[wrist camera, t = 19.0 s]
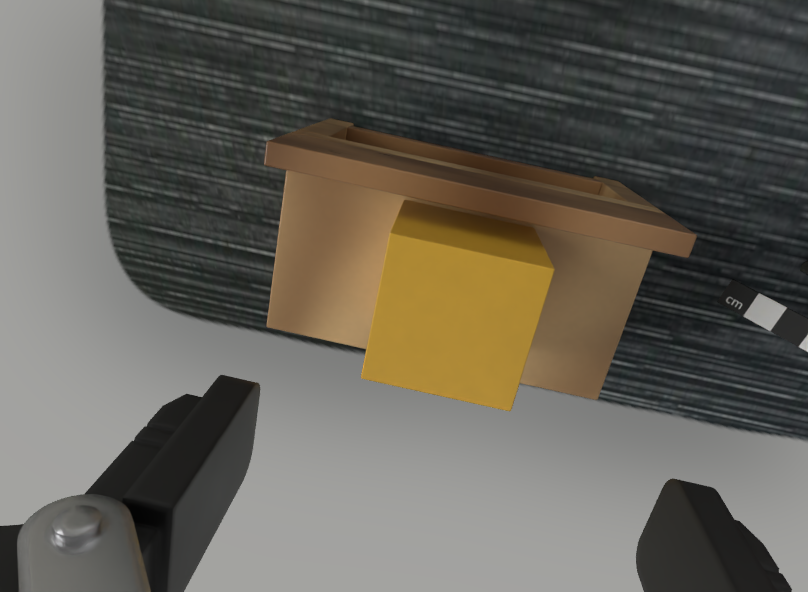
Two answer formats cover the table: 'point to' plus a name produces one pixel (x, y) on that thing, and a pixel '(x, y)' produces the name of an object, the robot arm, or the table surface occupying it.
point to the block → (457, 305)
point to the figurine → (767, 312)
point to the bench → (470, 193)
